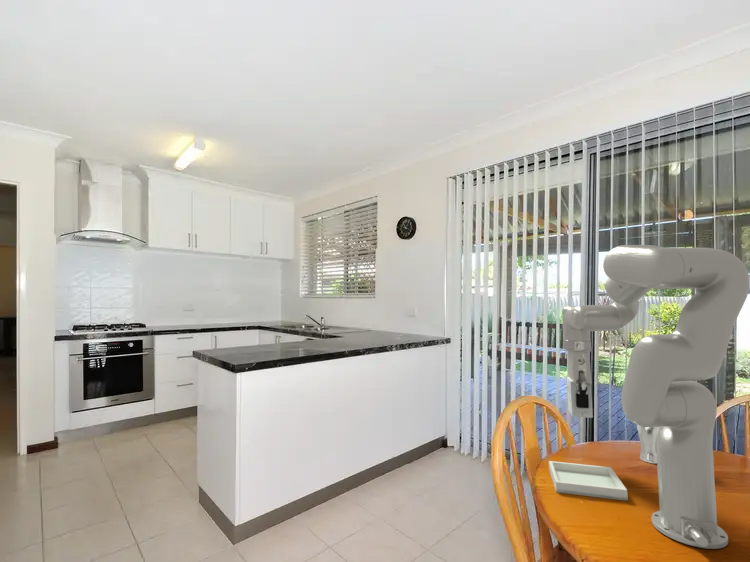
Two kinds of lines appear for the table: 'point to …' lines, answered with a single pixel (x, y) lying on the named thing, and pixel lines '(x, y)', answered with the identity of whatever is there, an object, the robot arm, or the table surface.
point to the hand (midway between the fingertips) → (579, 403)
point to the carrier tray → (587, 480)
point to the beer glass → (648, 443)
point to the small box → (572, 401)
